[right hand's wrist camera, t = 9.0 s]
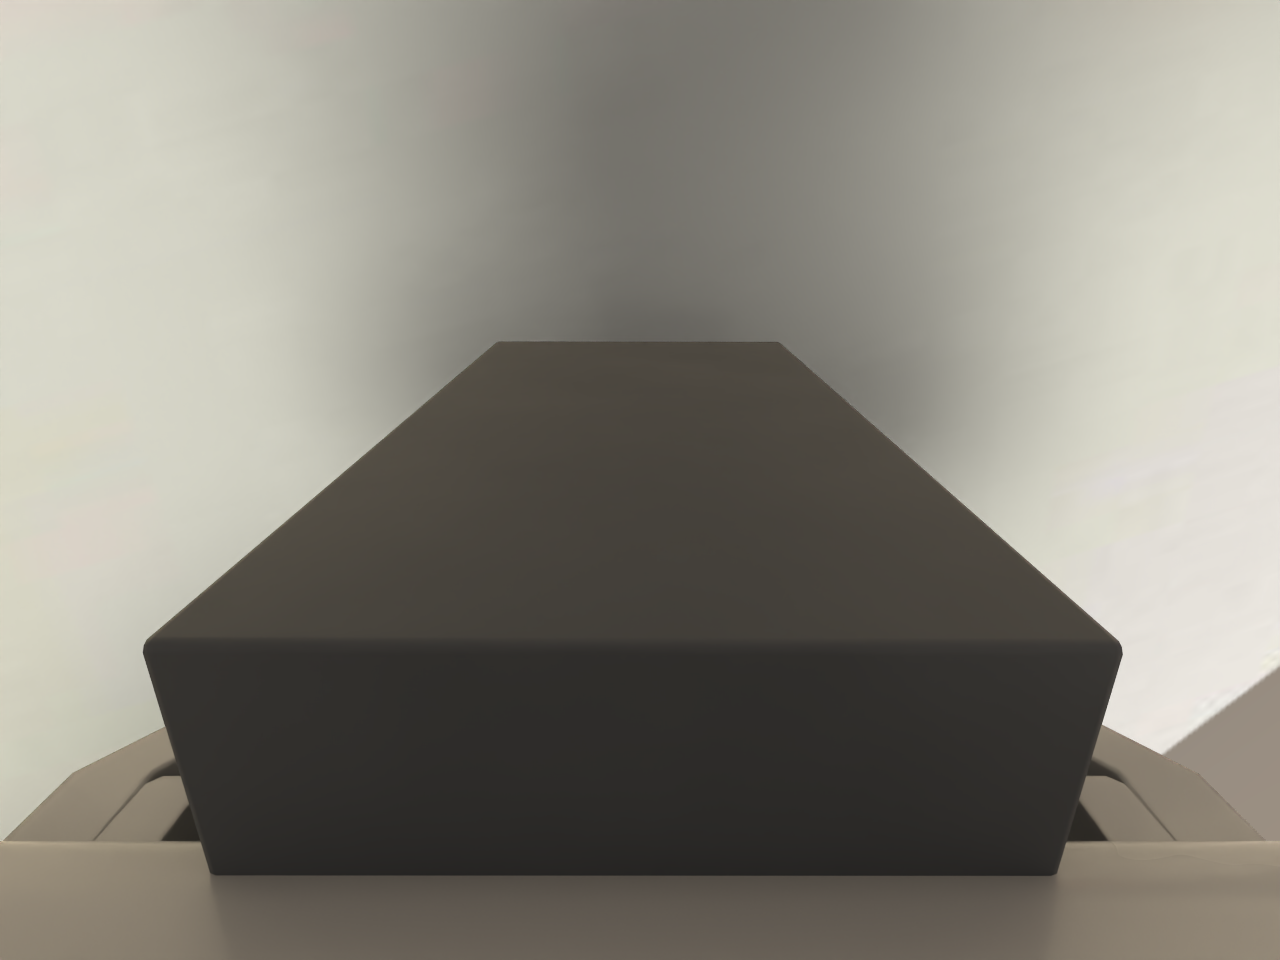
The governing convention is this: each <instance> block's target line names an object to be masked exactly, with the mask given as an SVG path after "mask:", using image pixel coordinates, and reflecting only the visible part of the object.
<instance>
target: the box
mask: <svg viewBox="0 0 1280 960" xmlns="http://www.w3.org/2000/svg"><path fill="white" fill-rule="evenodd" d="M143 655H144V658H145V661H146V665H147V668H148V671H149V674H150V678H151V681H152V684H153V688H154V691H155V694H156V697H157V701H158V704H159V707H160V710H161V714H162V717H163V720H164V724H165V727H166V730H167V733H168V737H169V740H170V743H171V747H172V750H173V753H174V756H175V760H176V763H177V766H178V769H179V773H180V776H181V779H182V783H183V786H184V789H185V792H186V796H187V799H188V802H189V806H190V809H191V812H192V815H193V819H194V822H195V825H196V828H197V832H198V835H199V838H200V842H201V845H202V848H203V851H204V855H205V858H206V861H207V864H208V868H209V871H210V873H211V874H214V875H274V876H1052V875H1054V874H1057V872H1058V868H1059V865H1060V862H1061V858H1062V855H1063V852H1064V848H1065V845H1066V842H1067V838H1068V835H1069V832H1070V828H1071V825H1072V822H1073V818H1074V815H1075V812H1076V808H1077V805H1078V802H1079V798H1080V795H1081V792H1082V788H1083V785H1084V782H1085V778H1086V775H1087V772H1088V768H1089V765H1090V762H1091V758H1092V755H1093V752H1094V748H1095V745H1096V742H1097V738H1098V735H1099V732H1100V728H1101V725H1102V722H1103V718H1104V715H1105V712H1106V708H1107V705H1108V702H1109V698H1110V695H1111V692H1112V688H1113V685H1114V682H1115V678H1116V675H1117V672H1118V668H1119V665H1120V662H1121V658H1122V655H1123V653H1122V647H1121V645H1120V643H1119V641H1118V640H1117V639H1116V638H1115V637H1113V636H1112V635H1111V634H1110V633H1109V632H1108V631H1107V630H1105V629H1104V628H1103V627H1102V626H1101V625H1100V624H1099V623H1097V622H1096V621H1095V620H1094V619H1093V618H1092V617H1091V616H1090V615H1088V614H1087V613H1086V612H1085V611H1084V610H1083V609H1082V608H1080V607H1079V606H1078V605H1077V604H1076V603H1075V602H1074V601H1072V600H1071V599H1070V598H1069V597H1068V596H1067V595H1066V594H1065V593H1063V592H1062V591H1061V590H1060V589H1059V588H1058V587H1057V586H1055V585H1054V584H1053V583H1052V582H1051V581H1050V580H1049V579H1047V578H1046V577H1045V576H1044V575H1043V574H1042V573H1041V572H1040V571H1038V570H1037V569H1036V568H1035V567H1034V566H1033V565H1032V564H1030V563H1029V562H1028V561H1027V560H1026V559H1025V558H1024V557H1022V556H1021V555H1020V554H1019V553H1018V552H1017V551H1016V550H1014V549H1013V548H1012V547H1011V546H1010V545H1009V544H1008V543H1007V542H1005V541H1004V540H1003V539H1002V538H1001V537H1000V536H999V535H997V534H996V533H995V532H994V531H993V530H992V529H991V528H989V527H988V526H987V525H986V524H985V523H984V522H983V521H982V520H980V519H979V518H978V517H977V516H976V515H975V514H974V513H972V512H971V511H970V510H969V509H968V508H967V507H966V506H964V505H963V504H962V503H961V502H960V501H959V500H958V499H957V498H955V497H954V496H953V495H952V494H951V493H950V492H949V491H947V490H946V489H945V488H944V487H943V486H942V485H941V484H939V483H938V482H937V481H936V480H935V479H934V478H933V477H932V476H930V475H929V474H928V473H927V472H926V471H925V470H924V469H922V468H921V467H920V466H919V465H918V464H917V463H916V462H914V461H913V460H912V459H911V458H910V457H909V456H908V455H907V454H905V453H904V452H903V451H902V450H901V449H900V448H899V447H897V446H896V445H895V444H894V443H893V442H892V441H891V440H889V439H888V438H887V437H886V436H885V435H884V434H883V433H882V432H880V431H879V430H878V429H877V428H876V427H875V426H874V425H872V424H871V423H870V422H869V421H868V420H867V419H866V418H864V417H863V416H862V415H861V414H860V413H859V412H858V411H857V410H855V409H854V408H853V407H852V406H851V405H850V404H849V403H847V402H846V401H845V400H844V399H843V398H842V397H841V396H839V395H838V394H837V393H836V392H835V391H834V390H833V389H832V388H830V387H829V386H828V385H827V384H826V383H825V382H824V381H822V380H821V379H820V378H819V377H818V376H817V375H816V374H814V373H813V372H812V371H811V370H810V369H809V368H808V367H807V366H805V365H804V364H803V363H802V362H801V361H800V360H799V359H797V358H796V357H795V356H794V355H793V354H792V353H791V352H789V351H788V350H787V349H786V348H785V347H784V346H783V345H782V344H780V343H778V342H497V343H496V344H494V345H493V346H492V347H491V348H490V349H489V350H487V351H486V352H485V353H484V354H483V355H481V356H480V357H479V358H478V359H477V360H476V361H474V362H473V363H472V364H471V365H470V366H469V367H467V368H466V369H465V370H464V371H463V372H461V373H460V374H459V375H458V376H457V377H456V378H454V379H453V380H452V381H451V382H450V383H449V384H447V385H446V386H445V387H444V388H443V389H441V390H440V391H439V392H438V393H437V394H436V395H434V396H433V397H432V398H431V399H430V400H428V401H427V402H426V403H425V404H424V405H423V406H421V407H420V408H419V409H418V410H417V411H416V412H414V413H413V414H412V415H411V416H410V417H408V418H407V419H406V420H405V421H404V422H403V423H401V424H400V425H399V426H398V427H397V428H396V429H394V430H393V431H392V432H391V433H390V434H388V435H387V436H386V437H385V438H384V439H383V440H381V441H380V442H379V443H378V444H377V445H376V446H374V447H373V448H372V449H371V450H370V451H368V452H367V453H366V454H365V455H364V456H363V457H361V458H360V459H359V460H358V461H357V462H355V463H354V464H353V465H352V466H351V467H350V468H348V469H347V470H346V471H345V472H344V473H343V474H341V475H340V476H339V477H338V478H337V479H335V480H334V481H333V482H332V483H331V484H330V485H328V486H327V487H326V488H325V489H324V490H323V491H321V492H320V493H319V494H318V495H317V496H315V497H314V498H313V499H312V500H311V501H310V502H308V503H307V504H306V505H305V506H304V507H302V508H301V509H300V510H299V511H298V512H297V513H295V514H294V515H293V516H292V517H291V518H290V519H288V520H287V521H286V522H285V523H284V524H282V525H281V526H280V527H279V528H278V529H277V530H275V531H274V532H273V533H272V534H271V535H270V536H268V537H267V538H266V539H265V540H264V541H262V542H261V543H260V544H259V545H258V546H257V547H255V548H254V549H253V550H252V551H251V552H250V553H248V554H247V555H246V556H245V557H244V558H242V559H241V560H240V561H239V562H238V563H237V564H235V565H234V566H233V567H232V568H231V569H229V570H228V571H227V572H226V573H225V574H224V575H222V576H221V577H220V578H219V579H218V580H217V581H215V582H214V583H213V584H212V585H211V586H209V587H208V588H207V589H206V590H205V591H204V592H202V593H201V594H200V595H199V596H198V597H197V598H195V599H194V600H193V601H192V602H191V603H189V604H188V605H187V606H186V607H185V608H184V609H182V610H181V611H180V612H179V613H178V614H176V615H175V616H174V617H173V618H172V619H171V620H169V621H168V622H167V623H166V624H165V625H164V626H162V627H161V628H160V629H159V630H158V631H156V632H155V633H154V634H153V635H152V636H151V637H149V638H148V639H147V640H146V642H145V644H144V648H143Z"/></svg>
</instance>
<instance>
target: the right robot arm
mask: <svg viewBox="0 0 1280 960" xmlns="http://www.w3.org/2000/svg"><path fill="white" fill-rule="evenodd" d="M0 960H1280V841H1266V840H1265V839H1264V838H1263V837H1262V836H1261V835H1260V834H1259V833H1258V832H1257V831H1256V830H1255V829H1254V828H1253V827H1252V826H1251V825H1250V824H1249V823H1248V822H1247V821H1246V820H1245V819H1244V818H1243V817H1242V816H1241V815H1240V814H1239V813H1238V812H1237V811H1236V810H1235V809H1234V808H1233V807H1232V806H1231V805H1230V804H1229V803H1228V802H1227V801H1226V800H1225V799H1224V798H1223V797H1222V796H1221V795H1220V794H1219V793H1218V792H1217V791H1216V790H1215V789H1214V788H1213V787H1212V786H1211V785H1210V784H1209V783H1208V782H1207V781H1206V780H1205V779H1204V778H1203V777H1202V776H1201V775H1200V774H1198V773H1196V772H1194V771H1192V770H1190V769H1188V768H1186V767H1184V766H1182V765H1180V764H1178V763H1176V762H1174V761H1172V760H1171V759H1169V758H1167V757H1165V756H1163V755H1161V754H1159V753H1157V752H1155V751H1153V750H1151V749H1149V748H1147V747H1145V746H1143V745H1141V744H1139V743H1137V742H1135V741H1133V740H1131V739H1129V738H1127V737H1125V736H1123V735H1121V734H1119V733H1117V732H1115V731H1113V730H1111V729H1109V728H1107V727H1105V726H1103V725H1101V728H1100V732H1099V735H1098V738H1097V742H1096V745H1095V748H1094V752H1093V755H1092V758H1091V762H1090V765H1089V768H1088V772H1087V775H1086V778H1085V782H1084V785H1083V788H1082V792H1081V795H1080V798H1079V802H1078V805H1077V808H1076V812H1075V815H1074V818H1073V822H1072V825H1071V828H1070V832H1069V835H1068V838H1067V842H1066V845H1065V848H1064V852H1063V855H1062V858H1061V862H1060V865H1059V868H1058V872H1057V874H1054V875H1052V876H274V875H214V874H211V873H210V871H209V868H208V864H207V861H206V858H205V855H204V851H203V848H202V845H201V842H200V838H199V835H198V832H197V828H196V825H195V822H194V819H193V815H192V812H191V809H190V806H189V802H188V799H187V796H186V792H185V789H184V786H183V783H182V779H181V776H180V773H179V769H178V766H177V763H176V760H175V756H174V753H173V750H172V747H171V743H170V740H169V737H168V733H167V730H166V727H164V728H162V729H160V730H158V731H156V732H154V733H152V734H150V735H148V736H146V737H144V738H142V739H140V740H138V741H136V742H134V743H132V744H130V745H128V746H126V747H124V748H122V749H120V750H118V751H116V752H114V753H112V754H110V755H108V756H106V757H104V758H102V759H100V760H98V761H96V762H94V763H92V764H90V765H88V766H86V767H84V768H82V769H80V770H78V771H76V772H74V773H72V774H71V775H70V776H69V777H68V778H67V779H66V780H65V781H64V782H63V783H62V784H61V785H60V786H59V787H58V788H57V789H56V790H55V791H54V792H53V793H52V794H51V795H50V796H49V797H48V798H47V799H46V800H45V801H43V802H42V803H41V804H40V805H39V806H38V807H37V808H36V809H35V810H34V811H33V812H32V813H31V814H30V815H29V816H28V817H27V818H26V819H25V820H24V821H23V822H22V823H21V824H20V825H19V826H18V827H17V828H16V829H15V830H14V831H13V832H12V833H11V834H10V835H9V836H7V837H6V838H5V839H4V840H3V841H0Z"/></svg>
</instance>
